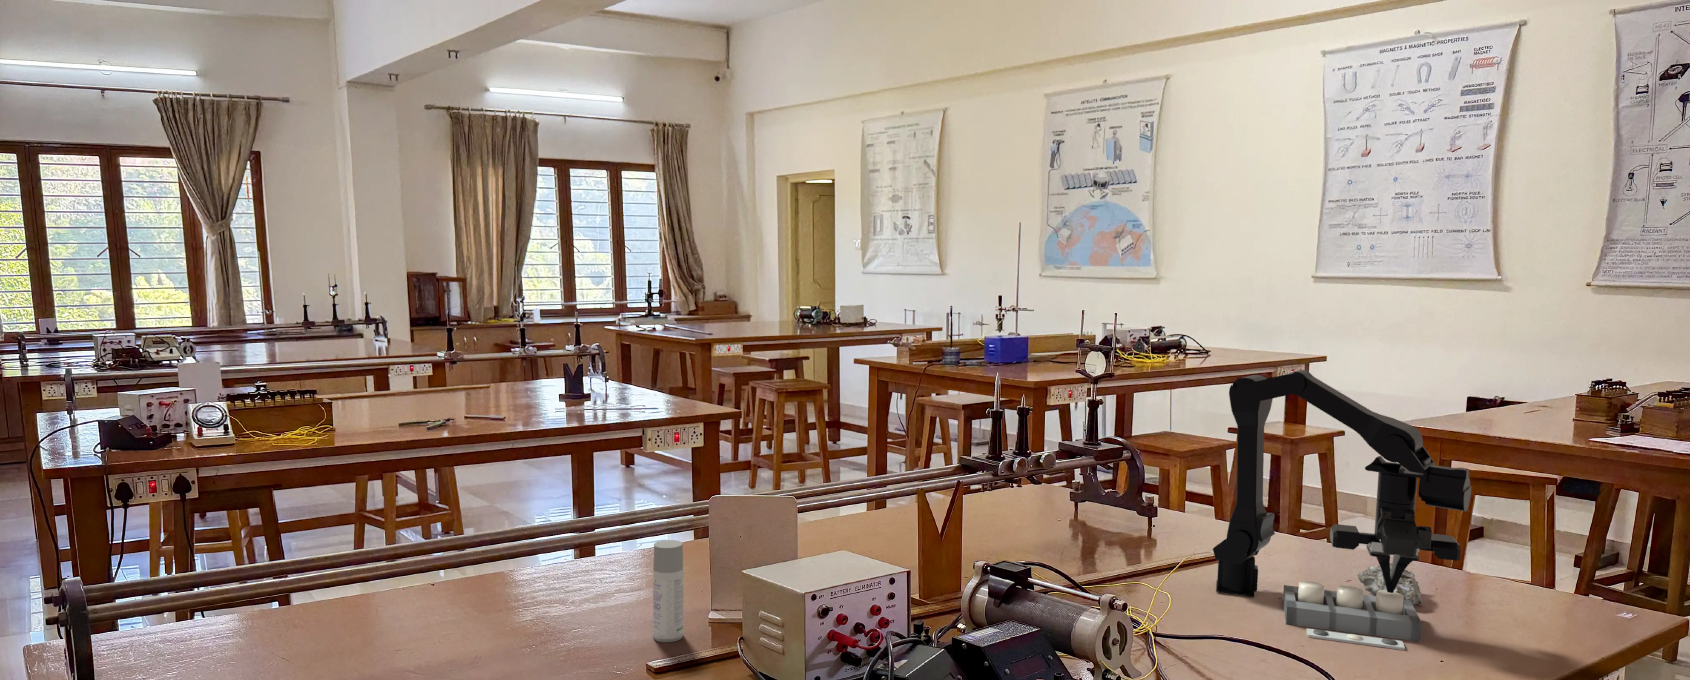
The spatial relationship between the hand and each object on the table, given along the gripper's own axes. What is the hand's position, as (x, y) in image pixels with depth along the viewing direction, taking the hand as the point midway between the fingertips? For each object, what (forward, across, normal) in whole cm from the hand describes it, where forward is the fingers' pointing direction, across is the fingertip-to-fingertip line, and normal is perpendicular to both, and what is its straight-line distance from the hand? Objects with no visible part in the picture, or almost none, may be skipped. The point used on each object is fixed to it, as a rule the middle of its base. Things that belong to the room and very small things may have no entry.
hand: (1389, 591), depth 173 cm
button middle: (+4, -6, 0) cm, 7 cm away
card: (+6, -6, -10) cm, 13 cm away
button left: (+4, -12, 0) cm, 13 cm away
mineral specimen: (+6, +3, +16) cm, 17 cm away
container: (+6, -108, -51) cm, 120 cm away
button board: (+6, -6, 0) cm, 8 cm away
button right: (+4, 0, 0) cm, 4 cm away
